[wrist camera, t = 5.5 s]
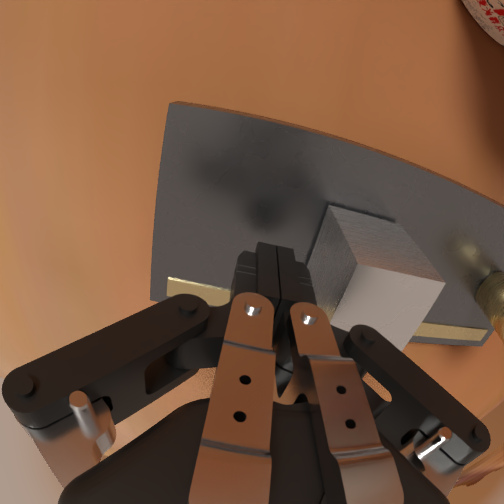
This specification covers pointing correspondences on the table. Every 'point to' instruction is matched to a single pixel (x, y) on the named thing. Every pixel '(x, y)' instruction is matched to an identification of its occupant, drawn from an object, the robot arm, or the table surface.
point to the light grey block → (372, 275)
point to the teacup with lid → (488, 16)
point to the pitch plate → (314, 212)
